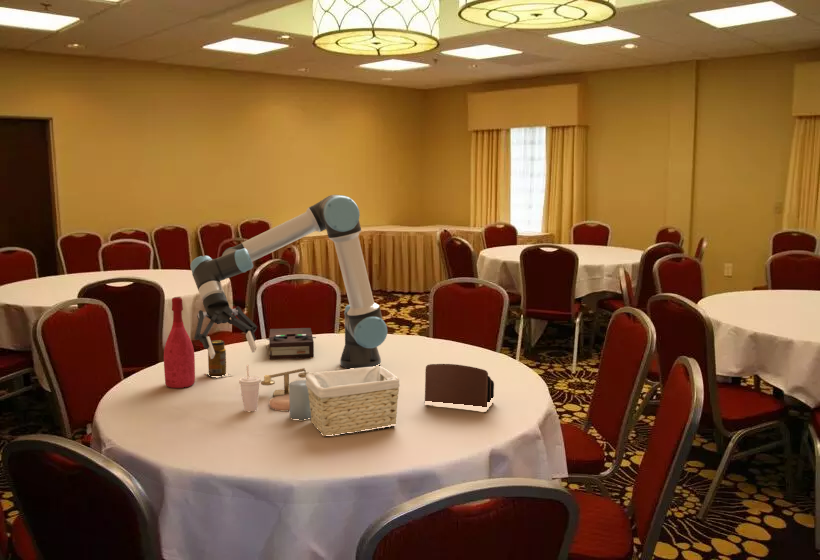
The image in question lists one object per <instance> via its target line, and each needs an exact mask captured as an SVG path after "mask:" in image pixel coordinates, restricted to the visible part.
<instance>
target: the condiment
mask: <svg viewBox="0 0 820 560" xmlns="http://www.w3.org/2000/svg"><path fill="white" fill-rule="evenodd" d="M211 343H212V346H213V348H214V351H215V356H214V358H213V359H211V358H210V355H209V352H208V351H207V357H208V358H207V362H208V366H207V367H208V373H209V375H210V376H208V377H209V378H211V376H222V375H225V374H226V372H227V352H226V351H227V350H226V347H225V346H226V345H225V341H224V340H221V339H219V340H218V339H217V340H215V339H214V340H211ZM227 373H228V376H225V377H224V378H228V377H232V376H233V377H234V375H233V374H231V373H229V372H227ZM229 375H230V376H229ZM211 379H216V377H212V378H211ZM218 379H222V378H221V377H219V378H218Z"/></svg>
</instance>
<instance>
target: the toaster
mask: <svg viewBox="0 0 820 560" xmlns="http://www.w3.org/2000/svg"><path fill="white" fill-rule="evenodd" d="M424 378H425V379H424V380H425V381H424V382H425V385H424V402H425V401H432V402H443V403H453V404H464V405H473V406H482V407H487V402H490V400H491V398H493V397H494V396H495V391H494V390H495V382H494V380H492V378H491V376H489V373H488V371H487V370H485V369H483V368H479V367H473V366H469V365H463V364H453V363H430V364H427V365H426V366H425V377H424ZM494 398H495V397H494Z"/></svg>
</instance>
